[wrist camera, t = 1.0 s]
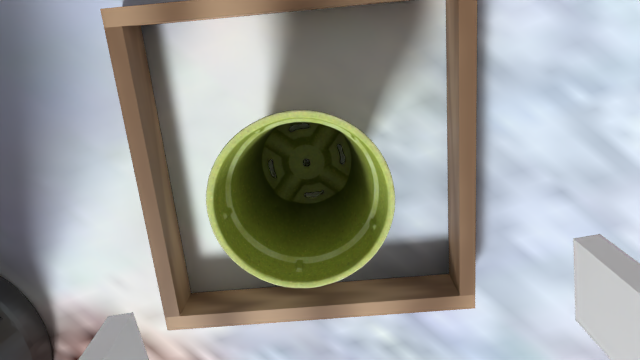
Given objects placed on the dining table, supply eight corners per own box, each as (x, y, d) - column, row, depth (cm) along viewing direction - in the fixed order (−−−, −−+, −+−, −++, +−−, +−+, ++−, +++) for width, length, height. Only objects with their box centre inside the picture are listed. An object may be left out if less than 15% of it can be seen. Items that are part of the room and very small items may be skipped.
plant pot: (217, 107, 32) (180, 137, 24) (360, 71, 31) (373, 90, 23) (257, 237, 35) (237, 304, 27) (390, 207, 34) (411, 267, 26)
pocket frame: (179, 306, 37) (167, 330, 34) (121, 9, 30) (100, 8, 27) (463, 285, 36) (475, 308, 33) (462, -23, 30) (477, -27, 27)
